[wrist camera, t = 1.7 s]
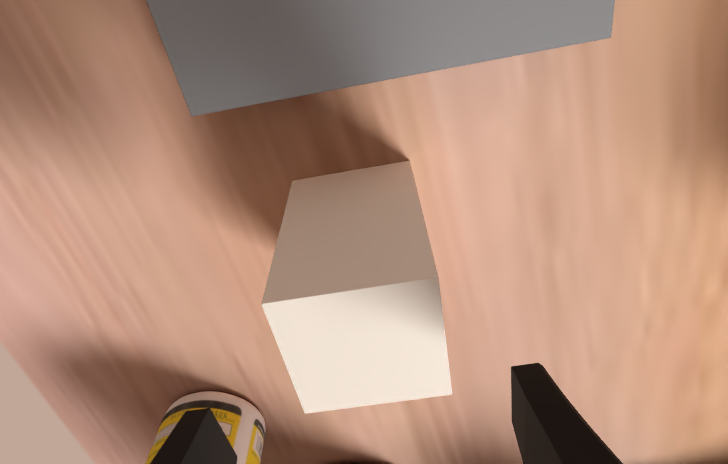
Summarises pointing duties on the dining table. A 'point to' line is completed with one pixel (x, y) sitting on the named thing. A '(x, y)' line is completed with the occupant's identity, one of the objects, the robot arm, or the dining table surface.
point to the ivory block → (357, 292)
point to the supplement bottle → (220, 423)
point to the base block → (351, 41)
